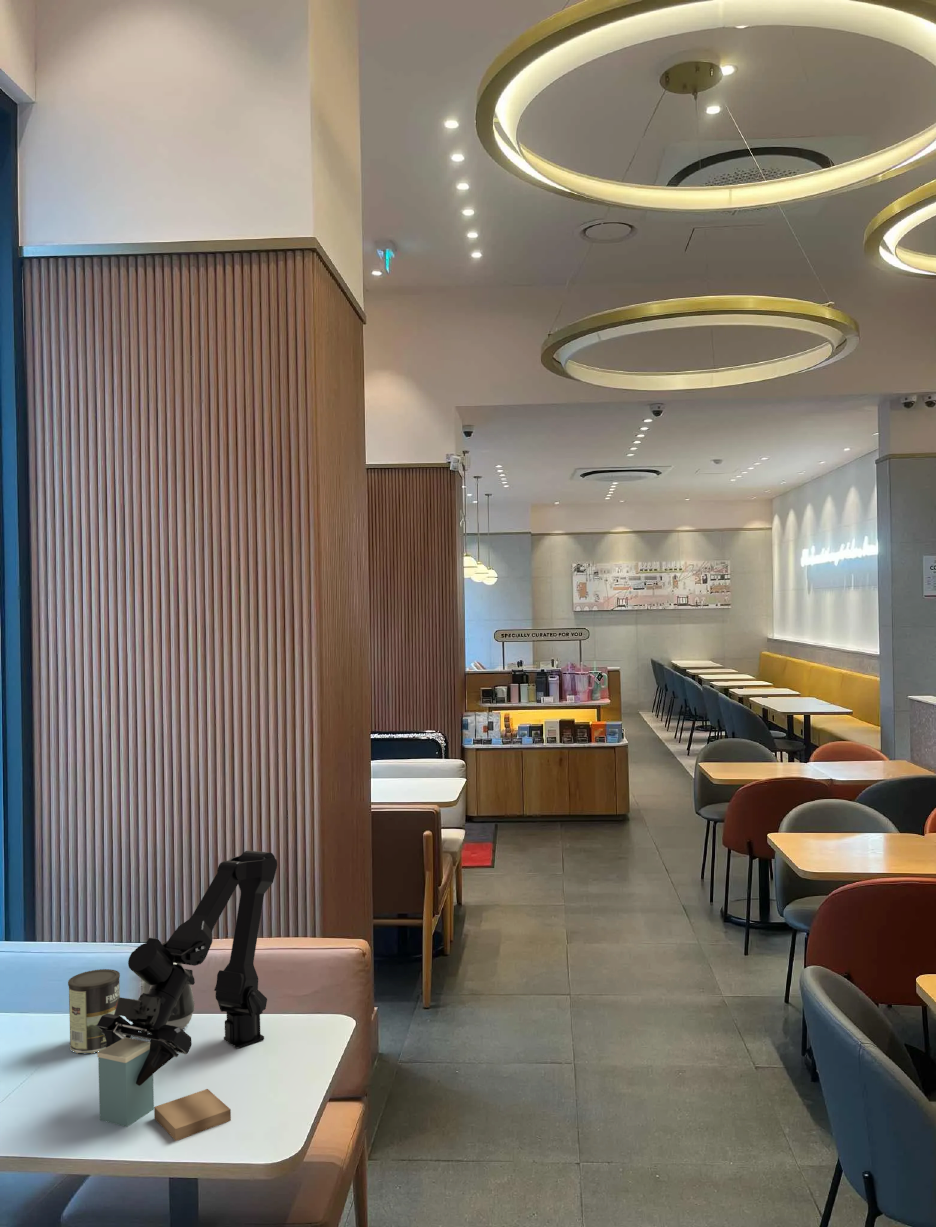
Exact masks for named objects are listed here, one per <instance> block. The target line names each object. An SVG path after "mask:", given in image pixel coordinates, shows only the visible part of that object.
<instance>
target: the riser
mask: <svg viewBox="0 0 936 1227" xmlns="http://www.w3.org/2000/svg"><path fill="white" fill-rule="evenodd" d="M231 1111H232V1110H231V1108H230V1107H229V1106H228V1105H227V1104H226V1103H224V1102H223V1101H222V1100H221V1099H220V1098H219V1097H217V1096H216V1095H215V1094H214V1093H213V1092H212V1091H211V1090H210V1089H208V1088H206V1089H203V1090H200V1091H197V1092H193V1093H190V1094H188V1095H185V1096H182V1097H180V1098H176V1099H173V1100H171V1101H170V1100H169V1101H168V1102H165V1103H162V1104H159V1105H156V1106H155V1105H154V1110H153V1113H154V1120H155V1121H156V1122H157V1123H158V1124H159V1125H160V1126H161V1127H162V1128H163V1129H164V1131H165V1132H167V1133H168V1135H170V1137H171V1138H172V1139H173V1140H174V1141H175V1142H177V1141H180V1140H183V1139H185V1138H188V1137H190V1136H193V1135H196V1134H198V1133H199V1134H200V1133H201V1132H204V1131H206V1130H209V1129H212V1128H214V1127H217V1126H220V1125H222V1124H226V1123H229V1122H230V1121H232V1116H231V1115H232V1114H231V1113H232V1112H231Z"/></svg>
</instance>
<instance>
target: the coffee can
mask: <svg viewBox="0 0 936 1227" xmlns="http://www.w3.org/2000/svg"><path fill="white" fill-rule="evenodd" d="M120 976H121V973H120V972H119V971H118V970H115V969H109V968H108V969H107V968H103V969H93V970H88V971H84V972H81V973H78V974H76V975H74V976H72V977H70V978H69V979H68V981H67V985H68V986H67V987H68V1002H69V1004H68V1005H69V1007H68V1008H69V1009H68V1011H69V1014H68V1015H69V1044H70V1045H69V1050H70V1049H71V1050H72V1051H74V1052H76V1053H75V1054H78V1053H91V1054H95V1053H94V1052H98V1051H101V1050H103V1049H105V1048H106V1038H105V1035H103V1034H102V1031H101V1030H100V1029H99V1028H98V1027H96V1026H97V1024H98V1022H99V1020H100V1018H101V1017H102V1016H103V1015H105V1014H107V1013H108V1014H113V1015H114V1013H115V1010H116V1006H117V1003H118V999H119V997H121V993H120V987H121V986H120ZM119 1016H120V1015H119ZM71 1050H70V1051H71ZM72 1051H71V1052H72ZM74 1052H73V1053H74Z"/></svg>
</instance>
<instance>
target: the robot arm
mask: <svg viewBox="0 0 936 1227" xmlns="http://www.w3.org/2000/svg"><path fill="white" fill-rule="evenodd" d="M277 868H278V859H276V857H275V855H274V854H273V853H272V852H270V851H259V850H257V851H256V850H244V851H243V852H242V853H241V855H238V856H234V857H230V858H229V859H228V860H224V861H221V862H220V863H219V865H218V867H217V872H216V874H215V875H214V878H213V880H212V881H211V883H210V884H209V886H208V888H207V889H206V891H205V893H204V895H203V896H202V898H201V900H200V901H199V903H198V904H197V906H196V908H195V910H194V911H193V913H192V915H190V917H189V918H188V919H187V920H185V921H184V922H183V923H181V924H180V925H179V926H178V927H177V928H176V929H175V931H174V932H173V933H172V934H171V936H170V937H169V938H168V940H167V941H165V942H164V943H162V942H161V941H160V939H158V938H155V937H148V939H147V941H146V942H144V943H142V944H140V945H139V946H137V948H135V949H134V951H132V952H131V953H130V955H129V957H128V960H127V961H128V962H127V963H128V968H129V969H130V971H132V972H133V973H134V974H135V975H136V976H138V978H140V980H142V981H143V982H145V984H147V985H149V986H150V985H152V986H151V988H150V987H149V989H150V990H148V992H147V993H144V992H143V993H142V994H140V995H139V997H138V999H135V998H127V997H121V996H120V997H119V999H118V1003H117V1006H116V1010H115V1013H114V1015H113V1014H108V1013H107V1014H105V1015H103V1016H102V1017H101V1018H100V1020H99V1022H98V1024H97V1026H96V1027H98V1028H99V1029H100V1030H101V1031H102V1034H103V1035H105V1038H106V1048H107V1047H109V1046H110V1045H112V1044H114V1043H116V1042H118V1041H120V1040H122V1039H123V1038H125V1037H126V1038H131V1037H135V1038H140V1039H145V1040H149V1042H150V1051H149V1054H148V1056H147V1058H146V1060H145V1062H144V1064H143V1066H142V1069H141V1071H140V1073H139V1075H138V1078H137V1081H136V1084H137V1085H138V1086H140V1085H142V1084H143V1083H144V1082H145V1081H146V1080H147V1079H148V1078H149V1077H150V1076H152V1075H153V1076H154V1074H156V1072H157V1071H159V1069H161V1068H162V1067H163V1066H164V1065H166V1064H167V1063H168V1062H170V1061H171V1060H173V1058H179V1054H184V1055H188V1054H189V1052H190V1049H191V1047H192V1044H193V1043H192V1037H191V1036H190V1035H189V1034H188V1033H187V1032H186V1031H184V1030H183V1029H181V1028H180V1027H176V1026H171V1025H166V1023H167V1021H168V1019H169V1017H170V1015H171V1014H172V1015H176V1013H177V1011H178V1010H177V1009H176V1008H175V1005H176V1003H177V1001H178V999H179V997H180V995H181V993H182V991H183V989H184V987H185V985H186V984H190V985H191V986H193V985H195V982H196V981H195V977H194V975H193V969H188V968H183V967H184V966H183V965H186V966H193V967H195V966H196V967H197V966H198V965H201V964H202V963H204V961H205V959H206V958H207V956H208V953H209V951H210V948H211V946H212V944H213V931H214V928H215V925H216V924H217V922H218V920H219V918H220V917H221V916H222V913H223V911H224V909H225V908H226V906H227V904H228V903H229V900H230V899H231V897H232V896H233V894H234V892H235V890H236V888H237V886H238V888H239V890H240V896H239V901H238V902H239V903H238V908H237V915H236V921H235V927H234V933H233V939H232V945H231V951H230V959H229V962H228V964H227V965H226V966H225V968H224V969H222V970H219V971H217V975H216V976H217V977H216V983H215V987H214V990H213V991H215V1000H216V1002H217V1004H218V1007H219V1011H220V1012H222V1013H226V1019H225V1020H224V1036H223V1040H224V1041H225V1042H226V1043H228V1044H230V1045H231V1046H232V1047H234V1048H236V1049H238V1048H242V1047H246V1046H248V1045H251V1044H254V1043H257V1042H260V1041H263V1040H265V1036H264V1035H263V1034H261V1015H262V1014H263V1012H264V1011H266V1007H267V1002H268V998H267V997H266V996H265V995H264V994H263V993H262V992H261V991H260V990H259V976H258V973H257V970H256V967H255V965H254V963H255V962H254V961H255V954H256V948H257V941H258V935H259V930H260V922H261V916H262V911H263V903H264V896H265V894H266V893H267V891H268V890H269V889H270V887H271V886H272V884H273V883H274V881H275V876H276V873H277ZM173 963H180V964H182V966H183V967H182V966H180V965H178V964H173ZM119 1015H120V1016H119ZM124 1017H125V1018H126V1019H125V1018H124ZM128 1021H129V1022H128ZM130 1022H131V1023H130ZM131 1039H132V1038H131Z"/></svg>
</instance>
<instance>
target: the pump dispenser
mask: <svg viewBox="0 0 936 1227" xmlns="http://www.w3.org/2000/svg"><path fill="white" fill-rule="evenodd" d="M173 964H178V965H180V966H182V967H183V968H184V966H183V964H180V963H173ZM184 969H185V968H184ZM151 986H152V985H149V990H150V988H151ZM149 990H148V991H149ZM175 1008H176V1009H177V1010H178V1011H177V1013H176V1015H172V1014H171V1015H170V1017H169V1019H168V1021H167V1023H166V1025H171V1026H176V1027H180V1028H181V1029H182V1030H183V1029H185V1027H187V1026H188V1024H189V1023H190V1021H191V1020H192V1017H193V1014H194V1011H195V1000H194V993H193V989H192V985H190V984H186V985H185V987H184V989H183V991H182V993H181V995H180V997H179V999H178V1001H177V1003H176V1005H175Z"/></svg>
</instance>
